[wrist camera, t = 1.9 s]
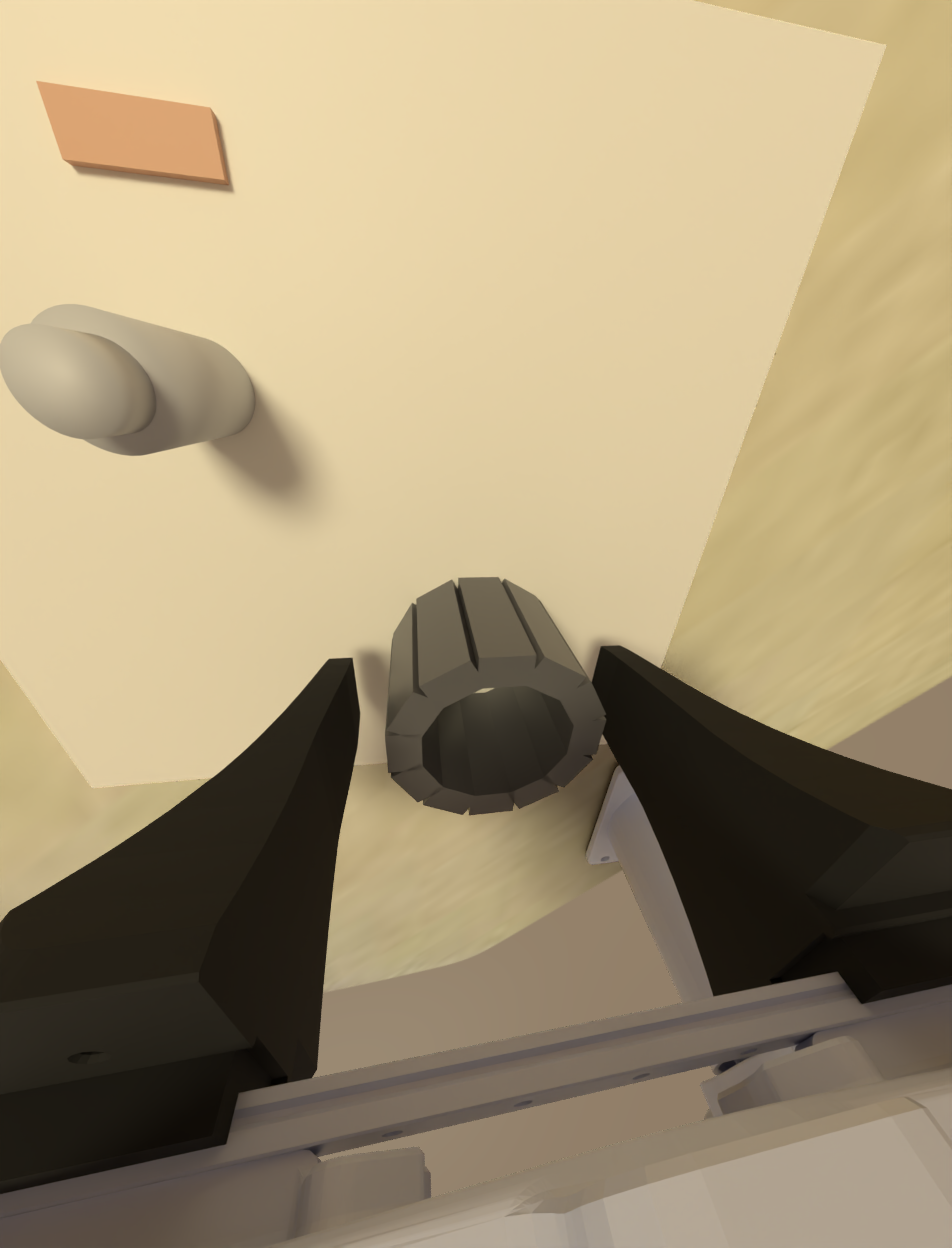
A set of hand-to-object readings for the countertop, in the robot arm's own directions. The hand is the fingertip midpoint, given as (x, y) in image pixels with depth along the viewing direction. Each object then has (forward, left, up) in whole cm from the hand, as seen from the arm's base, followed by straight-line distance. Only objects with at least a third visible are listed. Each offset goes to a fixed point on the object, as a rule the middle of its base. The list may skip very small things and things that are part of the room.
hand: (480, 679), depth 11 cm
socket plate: (+3, -4, -2) cm, 6 cm away
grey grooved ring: (0, 0, -2) cm, 2 cm away
